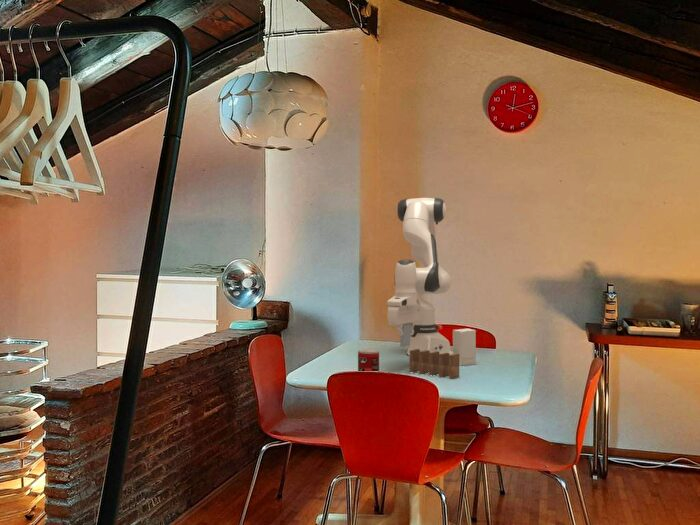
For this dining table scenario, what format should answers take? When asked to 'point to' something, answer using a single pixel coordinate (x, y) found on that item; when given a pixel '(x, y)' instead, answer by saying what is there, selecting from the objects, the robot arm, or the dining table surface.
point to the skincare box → (465, 345)
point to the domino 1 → (405, 335)
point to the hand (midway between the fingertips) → (405, 334)
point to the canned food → (368, 360)
